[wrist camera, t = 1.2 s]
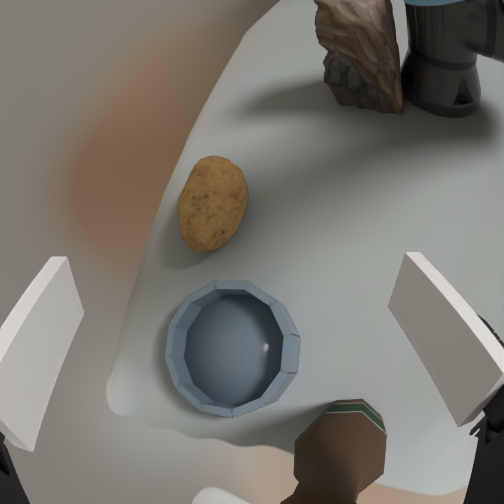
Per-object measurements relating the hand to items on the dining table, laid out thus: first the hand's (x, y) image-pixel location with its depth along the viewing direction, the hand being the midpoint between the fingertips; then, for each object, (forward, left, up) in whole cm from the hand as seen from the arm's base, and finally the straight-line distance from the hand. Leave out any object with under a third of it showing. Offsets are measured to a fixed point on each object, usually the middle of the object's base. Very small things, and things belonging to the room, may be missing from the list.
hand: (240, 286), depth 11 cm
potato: (-7, -22, -27) cm, 35 cm away
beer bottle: (+7, +8, -27) cm, 29 cm away
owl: (-38, -12, -27) cm, 48 cm away
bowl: (+7, -9, -26) cm, 29 cm away
